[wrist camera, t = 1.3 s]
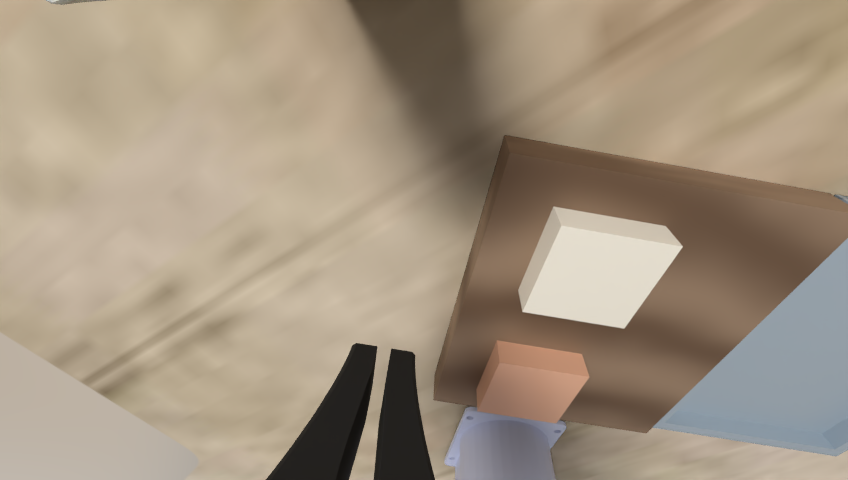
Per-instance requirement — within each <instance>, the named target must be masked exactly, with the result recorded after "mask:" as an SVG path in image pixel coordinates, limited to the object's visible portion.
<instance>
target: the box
mask: <svg viewBox="0 0 848 480" xmlns="http://www.w3.org/2000/svg"><path fill="white" fill-rule="evenodd" d="M835 197H836V198H838V199H840V200H842V201H843V202H845V203H847V204H848V197H847V196H841V195H835ZM652 428H659V429H665V430H672V431H678V432H684V433H691V434H697V435H704V436H710V437H716V438H723V439H729V440H735V441H742V442H748V443H755V444H761V445H767V446H774V447H780V448H787V449H793V450H799V451H806V452H812V453H819V454H825V455H831V456H838V455H840V454H841V453H843V452H845V451H847V450H848V238H847V239H846V240H845V241H844V242H843V243H842V244H841V245H840V246H839V247H838V248H837V249H836V250H835V251H834V252H833V253H832V254H831V255H830V256H829V257H828V258H827V259H826V260H825V261H823V262H822V263H821V264H820V265H819V266H818V267H817V268H816V269H815V270H814V271H813V272H812V273H811V274H810V275H809V276H808V277H807V278H806V279H805V280H804V281H803V282H802V283H801V284H800V285H799V286H798V287H797V288H796V289H795V290H794V291H793V292H792V293H790V294H789V295H788V296H787V297H786V298H785V299H784V300H783V301H782V302H781V303H780V304H779V305H778V306H777V307H776V308H775V309H774V310H773V311H772V312H771V313H770V314H769V315H768V316H767V317H766V318H765V319H764V320H763V321H762V322H761V323H760V324H758V325H757V326H756V327H755V328H754V329H753V330H752V331H751V332H750V333H749V334H748V335H747V336H746V337H745V338H744V339H743V340H742V341H741V342H740V343H739V344H738V345H737V346H736V347H735V348H734V349H733V350H732V351H731V352H730V353H729V354H728V355H727V356H725V357H724V358H723V359H722V360H721V361H720V362H719V363H718V364H717V365H716V366H715V367H714V368H713V369H712V370H711V371H710V372H709V373H708V374H707V375H706V376H705V377H704V378H703V379H702V380H701V381H700V382H699V383H698V384H697V385H696V386H695V387H694V388H692V389H691V390H690V391H689V392H688V393H687V394H686V395H685V396H684V397H683V398H682V399H681V400H680V401H679V402H678V403H677V404H676V405H675V406H674V407H673V408H672V409H671V410H670V411H669V412H668V413H667V414H666V415H665V416H664V417H663V418H662V419H661V420H659V421H658V422H657V423H656V424H655V425H654V426H653V427H652Z"/></svg>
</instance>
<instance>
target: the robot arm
mask: <svg viewBox="0 0 848 480" xmlns="http://www.w3.org/2000/svg"><path fill="white" fill-rule="evenodd" d="M376 353H377V346H371V345H365V344H359V343H356V344H354V345H353V346H352V348H351V350H350V353H349V355H348V357H347V359H346V361H345V363H344V365H343V367H342V369H341V371H340V373H339V375H338V376H337V378H336V380H335V382H334V383H333V385H332V387H331V388H330V390H329V392H328V393H327V395H326V396H325V398H324V400H323V401H322V403H321V404H320V406H319V407H318V409H317V411H316V412H315V414H314V415H313V417H312V418H311V420H310V421H309V422H308V424H307V425H306V427H305V428H304V430H303V431H302V432H301V434H300V435H299V437H298V438H297V440H296V441H295V442H294V444H293V445H292V447H291V448H290V449H289V451H288V452H287V453H286V455H285V456H284V457H283V459H282V460H281V461H280V462H279V464H278V465H277V466H276V468H275V469H274V470H273V471H272V473H271V474H270V475H269V476H268V478H267V479H266V480H349V477H350V474H351V470H352V467H353V463H354V460H355V456H356V453H357V449H358V446H359V442H360V439H361V435H362V432H363V428H364V425H365V421H366V416H367V411H368V406H369V401H370V395H371V390H372V384H373V376H374V369H375V361H376ZM566 428H567V427H566V423H565V422H564V421H561V420H558V422H557V423H549V422H543V421H537V420H530V419H524V418H517V417H511V416H504V415H498V414H492V413H485V412H479V411H477V407H467V408H466V409H465V411H464V413H463V416H462V418H461V420H460V423H459V425H458V428H457V430H456V432H455V435H454V437H453V440H452V442H451V445H450V447H449V449H448V452H447V454H446V457H445V464H446V465H448V466H454V467H455V480H556V478H555V473H554V468H553V463H552V458H551V453H550V449H551V448H552V447H553V445H554V444H555V443H556V441H557V440H558V439H559V437H560V436H561V435H562V434H563V432H564V431H565V430H566ZM374 480H435V478H434V474H433V470H432V466H431V462H430V458H429V454H428V450H427V445H426V441H425V436H424V431H423V425H422V420H421V415H420V409H419V403H418V395H417V387H416V376H415V354H414V353H413V352H409V351H402V350H396V349H391V354H390V360H389V365H388V371H387V377H386V383H385V389H384V395H383V402H382V408H381V414H380V420H379V428H378V439H377V450H376V462H375V473H374Z"/></svg>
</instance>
